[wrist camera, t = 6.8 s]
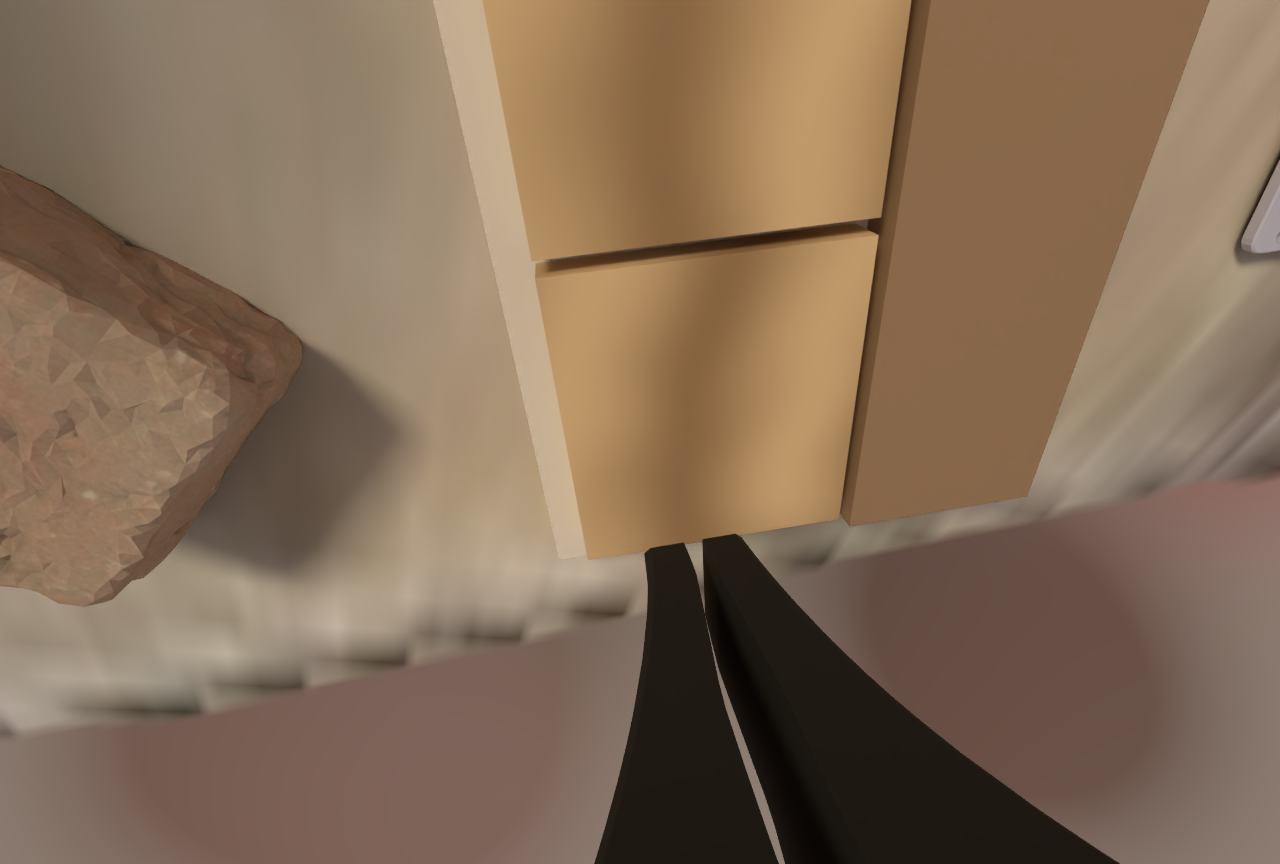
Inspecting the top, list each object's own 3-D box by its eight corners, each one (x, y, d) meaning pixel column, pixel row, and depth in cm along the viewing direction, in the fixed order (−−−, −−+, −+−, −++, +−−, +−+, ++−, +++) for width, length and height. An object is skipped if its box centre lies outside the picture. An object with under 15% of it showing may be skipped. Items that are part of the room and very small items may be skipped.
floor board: (1241, -410, 11) (1438, -543, 8) (982, 459, 22) (1035, 507, 19) (361, -373, 9) (301, -518, 7) (557, 529, 20) (560, 589, 18)
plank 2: (855, 223, 14) (878, 235, 13) (823, 495, 19) (838, 519, 18) (535, 263, 14) (534, 279, 13) (585, 533, 19) (587, 559, 18)
